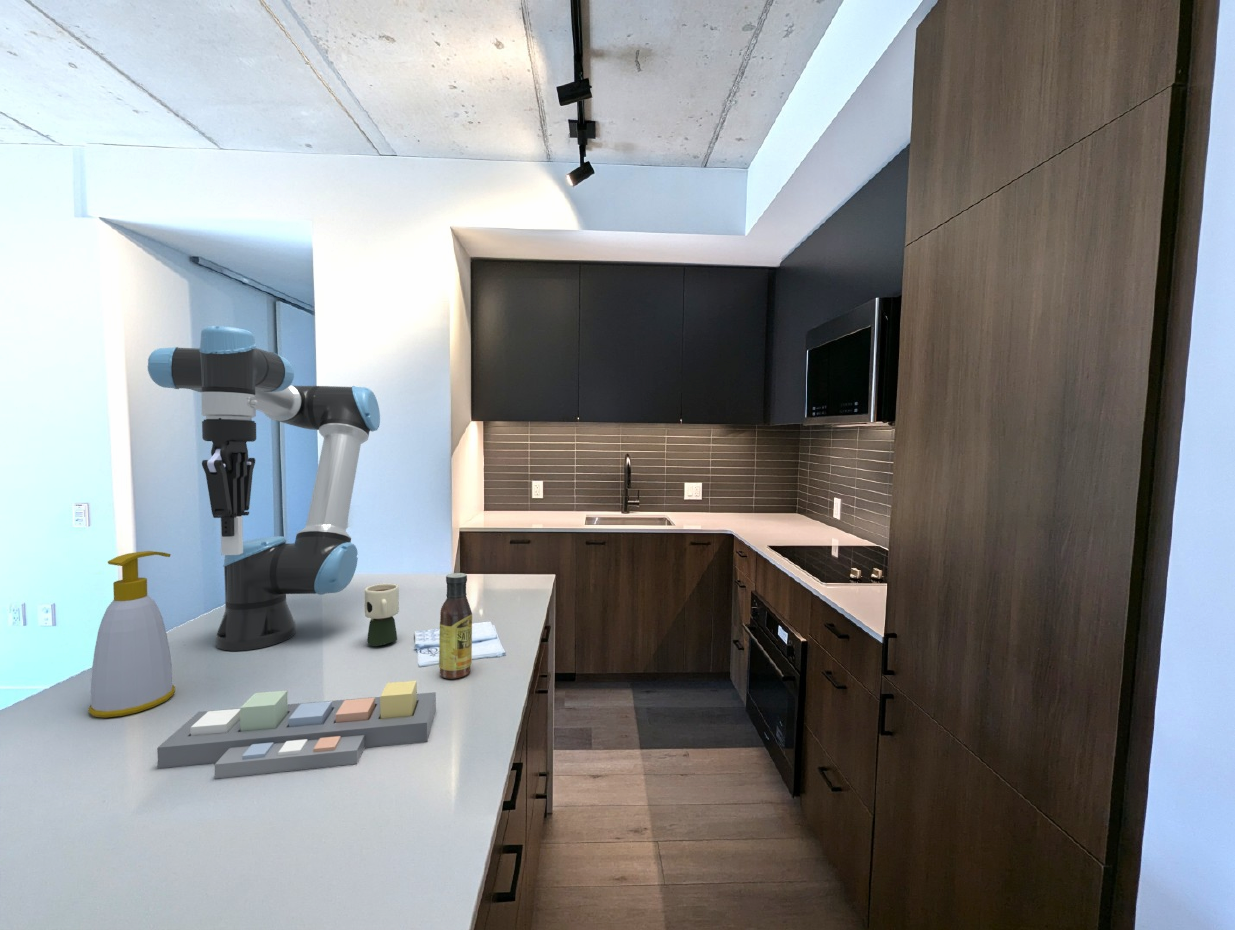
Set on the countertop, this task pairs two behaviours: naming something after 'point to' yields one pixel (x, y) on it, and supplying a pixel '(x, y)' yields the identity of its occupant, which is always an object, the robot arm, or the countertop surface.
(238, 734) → the keypad
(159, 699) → the soap bottle
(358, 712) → the key terracotta
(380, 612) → the character mug
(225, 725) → the key white
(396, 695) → the key mustard
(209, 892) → the countertop surface
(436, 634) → the folded patterned cloth
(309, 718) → the key slate
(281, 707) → the key sage
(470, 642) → the sauce bottle
